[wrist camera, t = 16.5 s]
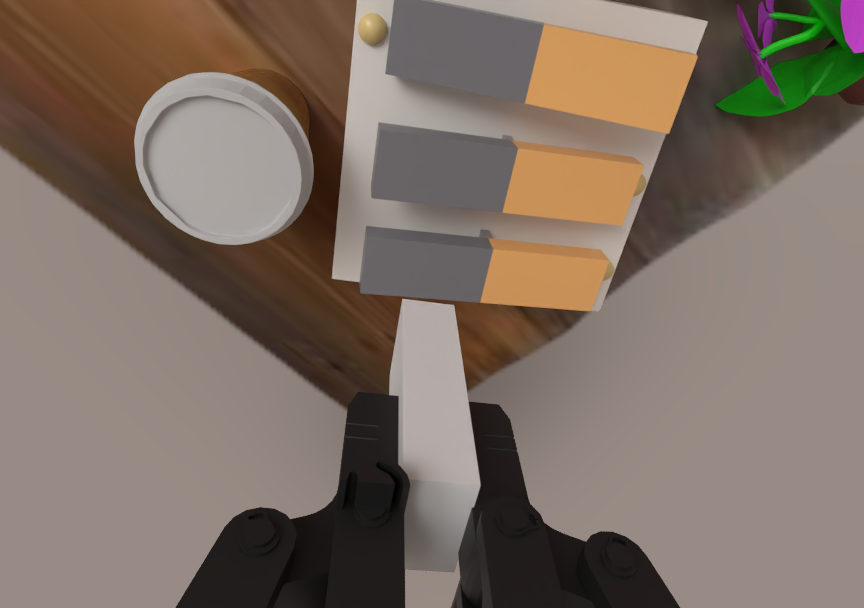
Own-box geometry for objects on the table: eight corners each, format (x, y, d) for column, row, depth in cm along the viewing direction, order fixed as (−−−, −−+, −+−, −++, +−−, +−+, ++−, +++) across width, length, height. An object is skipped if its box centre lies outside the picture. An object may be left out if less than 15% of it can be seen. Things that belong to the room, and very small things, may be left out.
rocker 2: (359, 280, 39) (360, 293, 37) (366, 225, 37) (366, 236, 35) (583, 299, 42) (591, 311, 40) (600, 249, 40) (609, 260, 38)
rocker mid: (370, 188, 35) (371, 198, 34) (378, 122, 33) (379, 129, 32) (612, 215, 39) (622, 225, 37) (633, 156, 36) (644, 165, 35)
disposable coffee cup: (175, 52, 39) (94, 90, 29) (316, 33, 39) (286, 65, 28) (218, 188, 44) (163, 262, 33) (344, 172, 44) (327, 241, 33)
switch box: (339, 242, 46) (329, 289, 40) (366, -47, 36) (359, -46, 30) (578, 273, 49) (605, 322, 43) (667, 11, 39) (720, 24, 32)
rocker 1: (391, 69, 34) (385, 73, 33) (401, -7, 32) (394, -6, 31) (663, 127, 33) (669, 133, 32) (691, 52, 31) (698, 55, 30)
